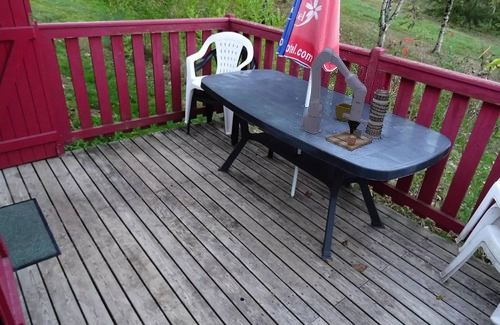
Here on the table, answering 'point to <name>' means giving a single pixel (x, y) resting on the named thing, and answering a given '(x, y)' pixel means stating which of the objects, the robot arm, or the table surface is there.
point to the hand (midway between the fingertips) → (351, 133)
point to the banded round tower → (377, 113)
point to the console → (342, 139)
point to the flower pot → (342, 111)
